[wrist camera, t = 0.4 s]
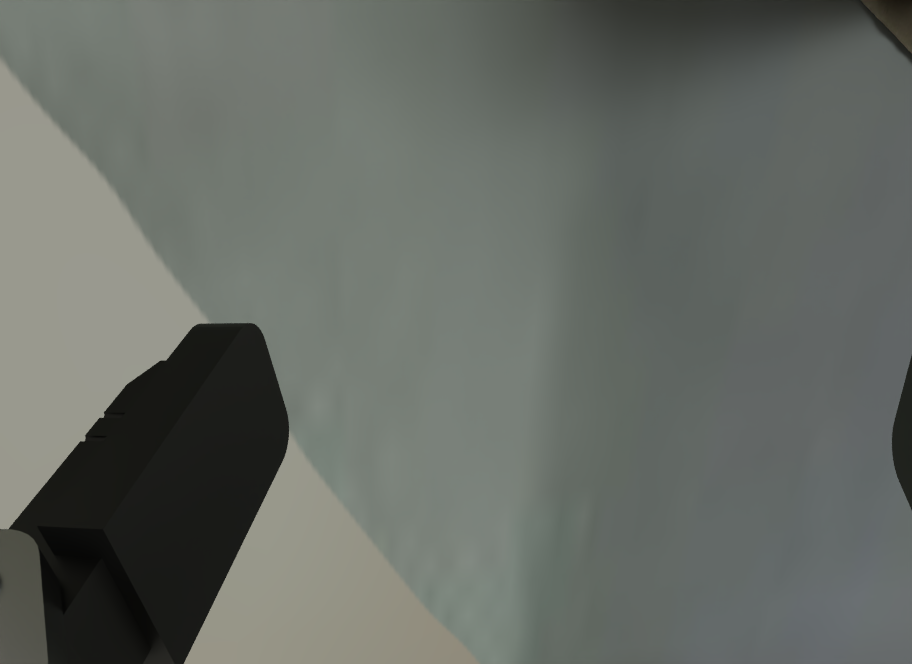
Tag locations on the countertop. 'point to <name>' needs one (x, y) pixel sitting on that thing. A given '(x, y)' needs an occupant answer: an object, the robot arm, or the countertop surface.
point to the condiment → (894, 17)
